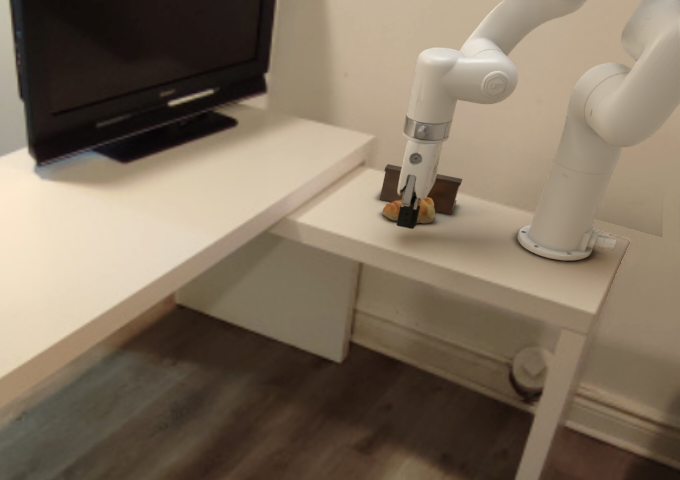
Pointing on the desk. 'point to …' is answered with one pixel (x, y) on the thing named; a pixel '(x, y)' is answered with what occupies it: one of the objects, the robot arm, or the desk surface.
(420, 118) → the robot arm
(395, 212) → the pastry
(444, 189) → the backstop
